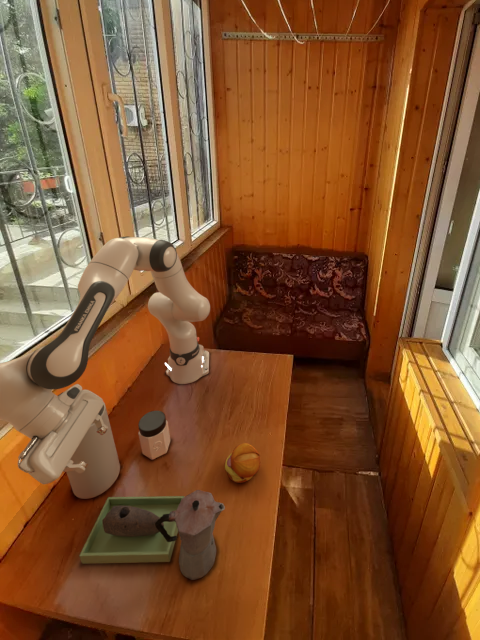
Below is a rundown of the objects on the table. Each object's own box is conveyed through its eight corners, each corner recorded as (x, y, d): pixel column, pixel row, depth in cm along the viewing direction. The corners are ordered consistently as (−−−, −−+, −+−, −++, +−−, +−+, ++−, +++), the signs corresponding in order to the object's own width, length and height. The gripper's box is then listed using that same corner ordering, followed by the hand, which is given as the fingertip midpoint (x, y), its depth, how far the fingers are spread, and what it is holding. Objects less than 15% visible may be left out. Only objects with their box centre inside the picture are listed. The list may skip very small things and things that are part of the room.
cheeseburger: (240, 447, 104) (244, 428, 100) (264, 470, 100) (270, 452, 95) (217, 470, 97) (221, 452, 92) (242, 497, 92) (247, 479, 87)
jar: (144, 464, 99) (139, 436, 95) (140, 444, 105) (134, 417, 101) (173, 450, 103) (169, 423, 99) (167, 432, 110) (163, 406, 106)
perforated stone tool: (169, 522, 83) (166, 505, 81) (160, 546, 78) (156, 528, 76) (116, 516, 84) (111, 499, 82) (103, 539, 79) (98, 522, 77)
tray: (110, 504, 88) (108, 496, 87) (185, 503, 88) (184, 495, 87) (81, 563, 75) (79, 555, 74) (169, 562, 76) (168, 554, 75)
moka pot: (230, 571, 74) (225, 517, 67) (161, 596, 70) (149, 540, 63) (226, 526, 83) (221, 474, 76) (164, 546, 79) (154, 493, 72)
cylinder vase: (123, 453, 102) (109, 394, 93) (116, 492, 91) (100, 428, 82) (79, 465, 98) (61, 404, 90) (67, 506, 87) (44, 441, 78)
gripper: (21, 458, 61) (78, 490, 66) (81, 378, 80) (123, 408, 85) (2, 470, 63) (60, 501, 68) (66, 389, 81) (107, 418, 86)
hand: (95, 449), depth 76 cm, fingers open, 8 cm apart
